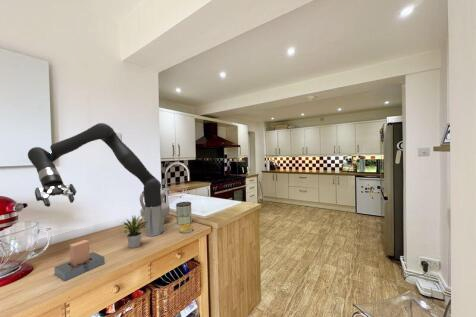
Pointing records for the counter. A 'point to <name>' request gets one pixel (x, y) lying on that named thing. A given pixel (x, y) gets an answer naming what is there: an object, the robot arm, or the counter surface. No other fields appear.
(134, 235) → the house plant
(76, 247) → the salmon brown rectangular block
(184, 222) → the coffee can
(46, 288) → the counter surface
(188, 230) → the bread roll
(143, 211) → the ceramic pitcher
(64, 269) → the grey socket block
